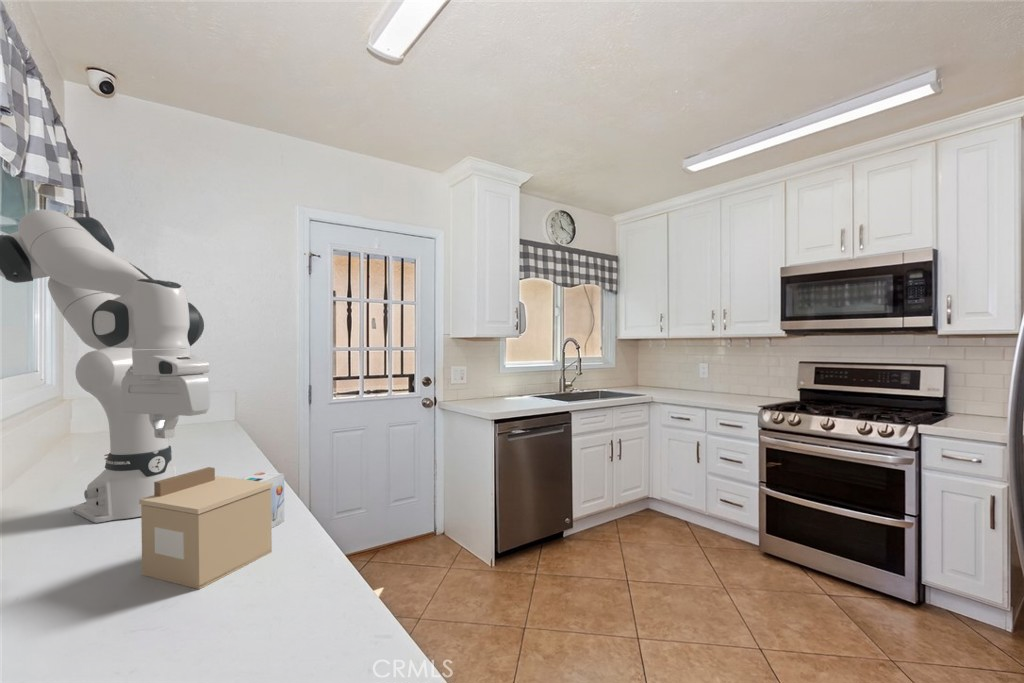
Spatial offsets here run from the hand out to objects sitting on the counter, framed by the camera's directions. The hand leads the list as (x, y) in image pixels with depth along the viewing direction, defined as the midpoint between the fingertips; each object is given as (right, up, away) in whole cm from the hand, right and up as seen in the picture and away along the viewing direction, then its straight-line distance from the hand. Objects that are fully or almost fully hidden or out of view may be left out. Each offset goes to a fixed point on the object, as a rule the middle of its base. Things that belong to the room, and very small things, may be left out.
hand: (164, 437), depth 88 cm
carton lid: (+11, -10, -4) cm, 15 cm away
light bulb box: (+11, -22, +11) cm, 27 cm away
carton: (+11, -22, -4) cm, 25 cm away
